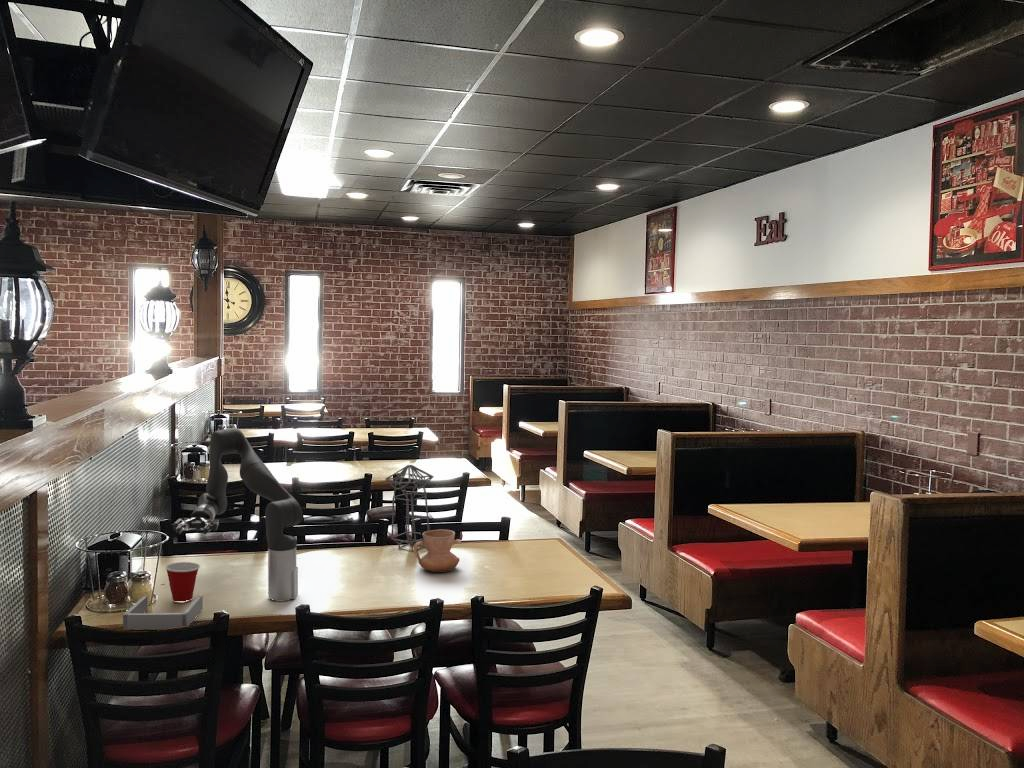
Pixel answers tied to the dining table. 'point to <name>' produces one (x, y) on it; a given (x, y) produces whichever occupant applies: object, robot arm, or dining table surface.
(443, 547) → the ceramic jug
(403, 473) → the geometric lantern
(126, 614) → the box
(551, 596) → the dining table surface
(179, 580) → the plastic cup
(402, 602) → the dining table surface
